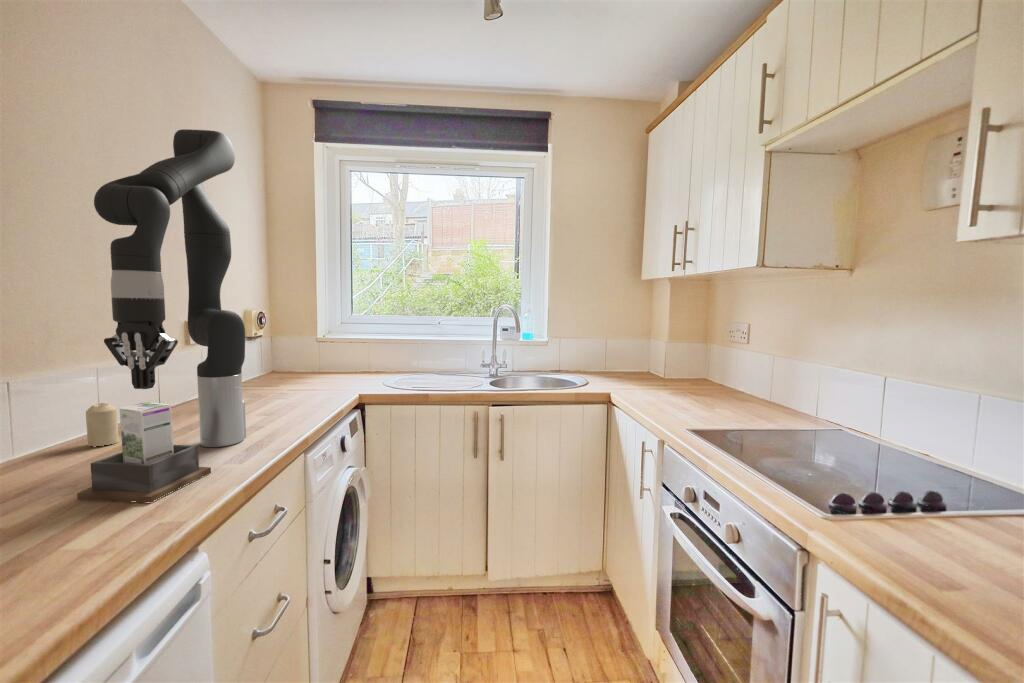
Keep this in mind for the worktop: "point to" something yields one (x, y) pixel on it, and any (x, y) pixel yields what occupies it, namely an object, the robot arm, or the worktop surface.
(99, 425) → the candle
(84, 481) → the worktop surface
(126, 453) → the syrup box
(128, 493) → the holder
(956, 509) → the worktop surface
